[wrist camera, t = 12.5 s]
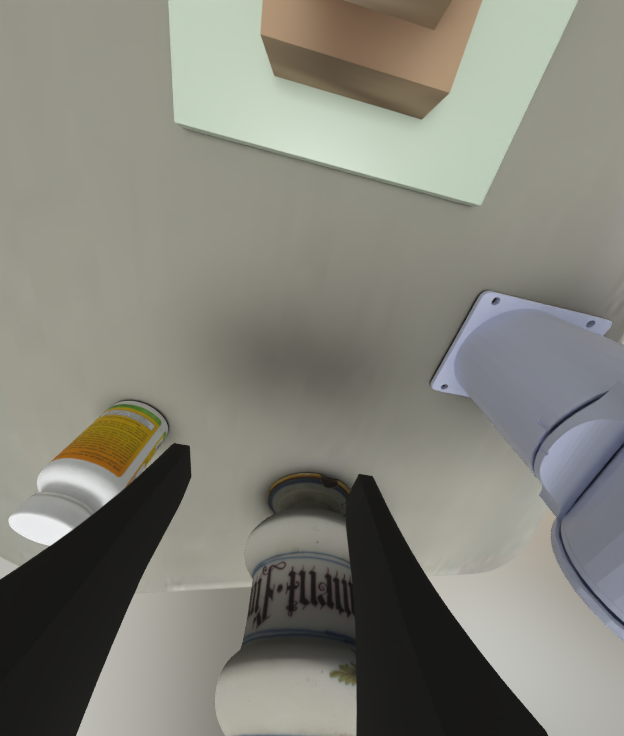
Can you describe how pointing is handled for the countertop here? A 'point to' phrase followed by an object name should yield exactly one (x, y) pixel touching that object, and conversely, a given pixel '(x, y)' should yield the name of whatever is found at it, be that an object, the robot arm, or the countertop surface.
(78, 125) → the countertop surface
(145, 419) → the supplement bottle
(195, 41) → the baseplate
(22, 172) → the countertop surface
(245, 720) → the apothecary jar
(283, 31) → the base block
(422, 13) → the maple brick
